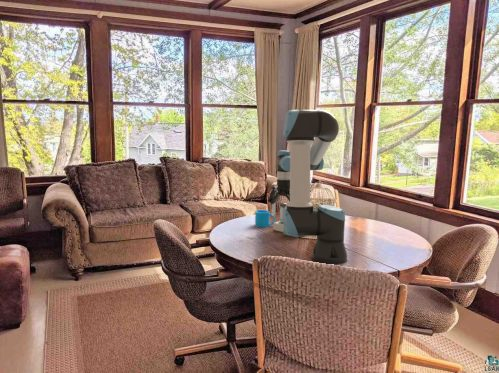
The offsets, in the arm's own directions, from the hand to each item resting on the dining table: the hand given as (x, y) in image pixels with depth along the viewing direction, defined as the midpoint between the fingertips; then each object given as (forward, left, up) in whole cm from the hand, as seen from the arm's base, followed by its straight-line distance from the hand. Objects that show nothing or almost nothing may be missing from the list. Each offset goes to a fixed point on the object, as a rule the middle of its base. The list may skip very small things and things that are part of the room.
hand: (283, 217), depth 226 cm
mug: (+13, 0, -8) cm, 15 cm away
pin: (0, 0, -7) cm, 7 cm away
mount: (0, 0, -7) cm, 7 cm away
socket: (-10, +2, -7) cm, 12 cm away
